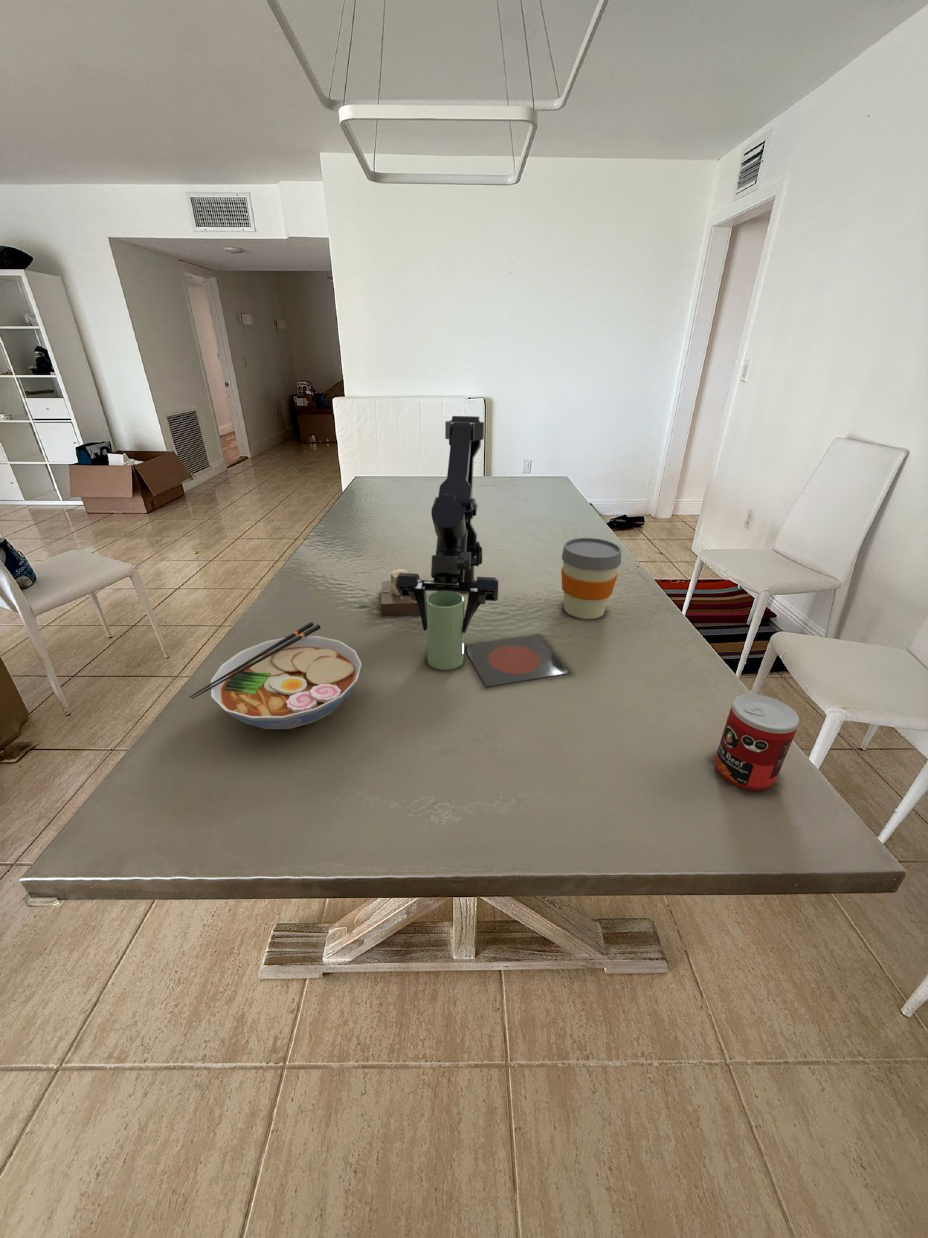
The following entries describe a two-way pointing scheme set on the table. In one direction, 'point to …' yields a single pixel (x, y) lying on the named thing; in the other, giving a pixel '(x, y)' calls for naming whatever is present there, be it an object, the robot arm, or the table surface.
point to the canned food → (755, 741)
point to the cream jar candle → (393, 580)
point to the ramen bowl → (286, 680)
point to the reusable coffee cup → (589, 575)
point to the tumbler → (445, 629)
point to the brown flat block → (396, 603)
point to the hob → (514, 661)
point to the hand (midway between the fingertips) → (444, 631)
